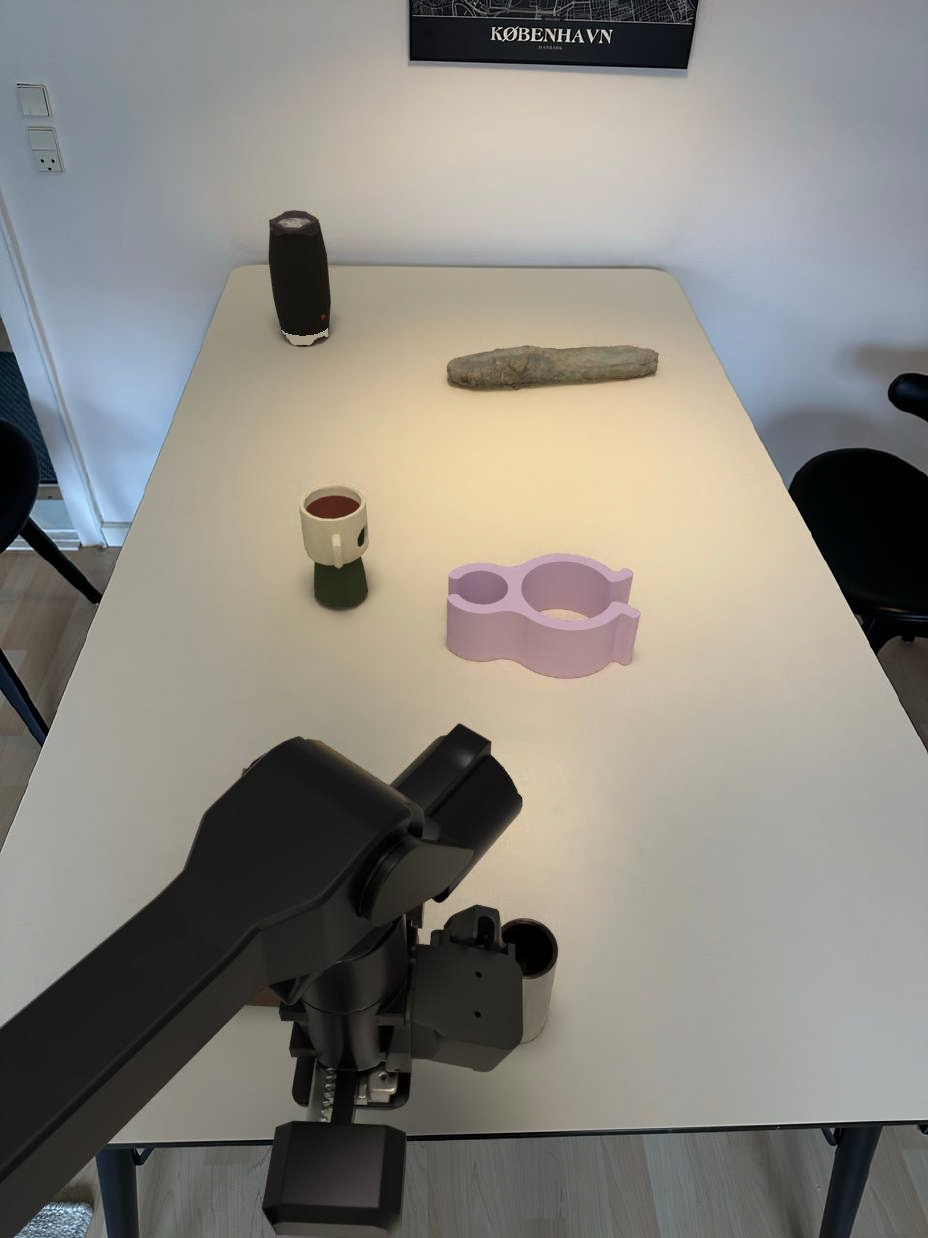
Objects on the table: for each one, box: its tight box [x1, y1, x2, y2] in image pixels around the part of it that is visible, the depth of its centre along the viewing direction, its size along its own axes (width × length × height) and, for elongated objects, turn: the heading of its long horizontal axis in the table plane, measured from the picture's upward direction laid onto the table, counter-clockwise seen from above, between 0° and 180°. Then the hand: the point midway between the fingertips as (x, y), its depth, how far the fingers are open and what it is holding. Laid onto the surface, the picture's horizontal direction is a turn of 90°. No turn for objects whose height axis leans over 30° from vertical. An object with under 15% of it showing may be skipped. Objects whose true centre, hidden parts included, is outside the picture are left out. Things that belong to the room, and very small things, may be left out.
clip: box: [446, 553, 641, 679], centre depth 98 cm, size 20×12×7 cm, turn 88°
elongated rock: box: [446, 344, 660, 390], centre depth 144 cm, size 35×5×10 cm
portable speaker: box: [267, 209, 332, 336], centre depth 148 cm, size 9×9×20 cm
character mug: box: [298, 483, 370, 607], centre depth 100 cm, size 11×7×13 cm, turn 9°
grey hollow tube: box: [501, 917, 559, 1044], centre depth 65 cm, size 4×4×10 cm
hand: (365, 1083), depth 53 cm, fingers closed
